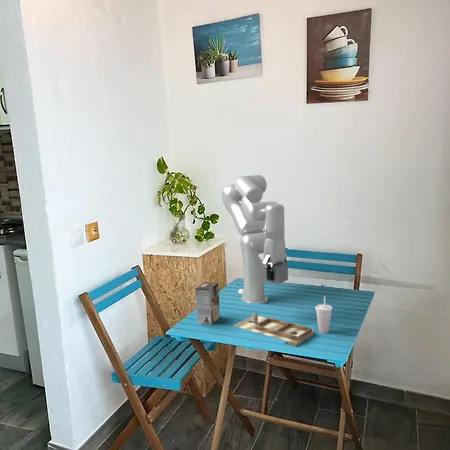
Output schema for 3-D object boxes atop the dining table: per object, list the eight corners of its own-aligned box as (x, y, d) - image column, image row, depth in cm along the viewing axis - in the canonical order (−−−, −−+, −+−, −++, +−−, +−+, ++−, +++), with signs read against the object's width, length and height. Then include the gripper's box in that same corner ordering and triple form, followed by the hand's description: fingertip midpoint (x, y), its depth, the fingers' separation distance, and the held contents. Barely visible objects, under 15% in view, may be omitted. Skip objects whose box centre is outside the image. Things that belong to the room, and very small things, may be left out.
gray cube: (264, 281, 179) (263, 264, 178) (273, 277, 185) (273, 261, 183) (278, 284, 175) (278, 267, 174) (288, 279, 180) (287, 263, 179)
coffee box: (206, 318, 185) (204, 281, 183) (220, 319, 183) (218, 282, 180) (197, 326, 177) (195, 287, 174) (212, 328, 175) (210, 289, 172)
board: (233, 328, 173) (233, 316, 172) (254, 317, 184) (253, 305, 183) (295, 346, 156) (295, 332, 155) (314, 333, 166) (314, 320, 165)
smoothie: (321, 336, 163) (321, 300, 161) (311, 329, 169) (311, 295, 167) (335, 332, 166) (336, 297, 164) (325, 326, 172) (325, 292, 169)
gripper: (279, 230, 185) (279, 271, 189) (254, 237, 172) (255, 281, 175) (294, 232, 181) (294, 273, 184) (270, 239, 168) (271, 284, 171)
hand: (275, 277), depth 180 cm, fingers closed on gray cube, 7 cm apart
